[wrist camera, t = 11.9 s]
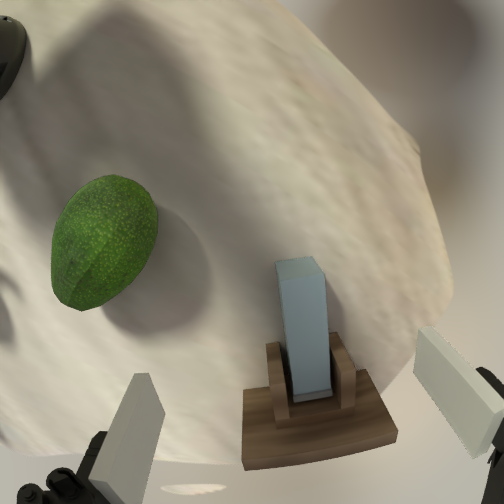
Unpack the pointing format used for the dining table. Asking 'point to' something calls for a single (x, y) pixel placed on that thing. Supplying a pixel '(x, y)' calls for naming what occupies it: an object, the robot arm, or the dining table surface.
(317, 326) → the block
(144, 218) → the fruit
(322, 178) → the dining table surface
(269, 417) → the wooden card holder
